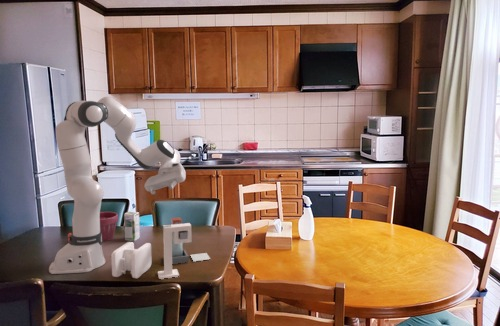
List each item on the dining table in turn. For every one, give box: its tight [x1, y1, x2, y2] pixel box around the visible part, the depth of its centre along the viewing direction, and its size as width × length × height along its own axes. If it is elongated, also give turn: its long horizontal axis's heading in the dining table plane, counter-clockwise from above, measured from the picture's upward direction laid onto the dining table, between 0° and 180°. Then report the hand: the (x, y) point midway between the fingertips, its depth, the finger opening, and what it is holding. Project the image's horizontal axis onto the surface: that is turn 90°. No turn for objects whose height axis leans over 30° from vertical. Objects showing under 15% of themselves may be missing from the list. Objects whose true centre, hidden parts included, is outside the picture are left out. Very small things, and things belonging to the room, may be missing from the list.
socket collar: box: [172, 248, 190, 265], centre depth 171 cm, size 9×9×3 cm
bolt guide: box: [157, 222, 193, 280], centre depth 155 cm, size 14×6×21 cm, turn 110°
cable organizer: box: [110, 241, 153, 279], centre depth 156 cm, size 15×11×12 cm
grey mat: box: [189, 252, 211, 263], centre depth 174 cm, size 8×8×1 cm
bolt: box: [170, 216, 188, 239], centre depth 161 cm, size 4×21×4 cm, turn 20°
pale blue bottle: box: [172, 232, 184, 257], centre depth 170 cm, size 5×5×14 cm
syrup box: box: [123, 211, 141, 242], centre depth 198 cm, size 6×6×14 cm
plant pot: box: [100, 211, 119, 242], centre depth 199 cm, size 14×14×13 cm
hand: (161, 190), depth 172 cm, fingers open, 8 cm apart
